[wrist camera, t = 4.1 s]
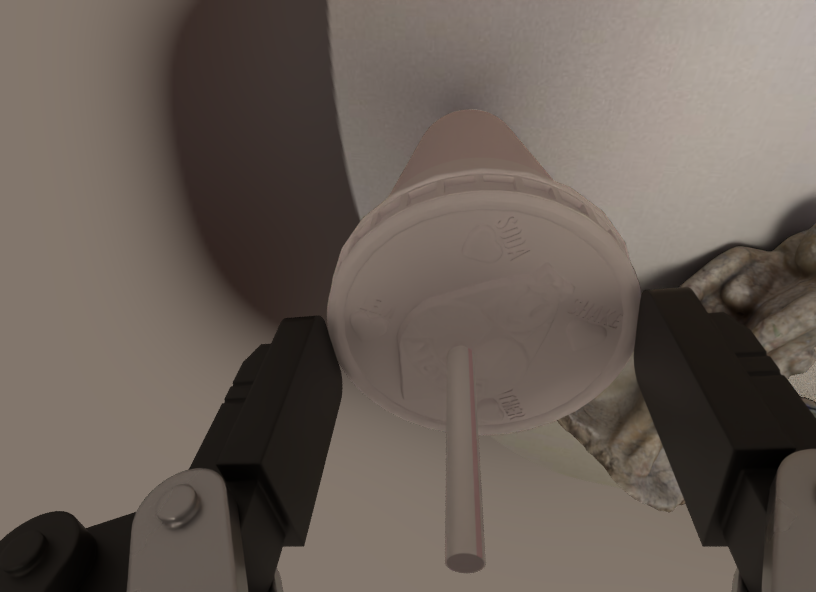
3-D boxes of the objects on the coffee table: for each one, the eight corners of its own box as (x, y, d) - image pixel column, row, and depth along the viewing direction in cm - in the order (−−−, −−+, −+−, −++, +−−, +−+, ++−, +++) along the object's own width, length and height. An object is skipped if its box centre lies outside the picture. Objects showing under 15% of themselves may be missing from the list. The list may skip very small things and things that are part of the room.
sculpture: (714, 147, 32) (878, 258, 31) (536, 351, 39) (665, 448, 38) (782, 142, 22) (1031, 307, 21) (524, 420, 28) (701, 555, 27)
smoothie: (342, 166, 18) (168, 537, 7) (468, 19, 15) (518, 252, 4) (466, 269, 21) (485, 678, 9) (597, 157, 18) (866, 563, 6)
